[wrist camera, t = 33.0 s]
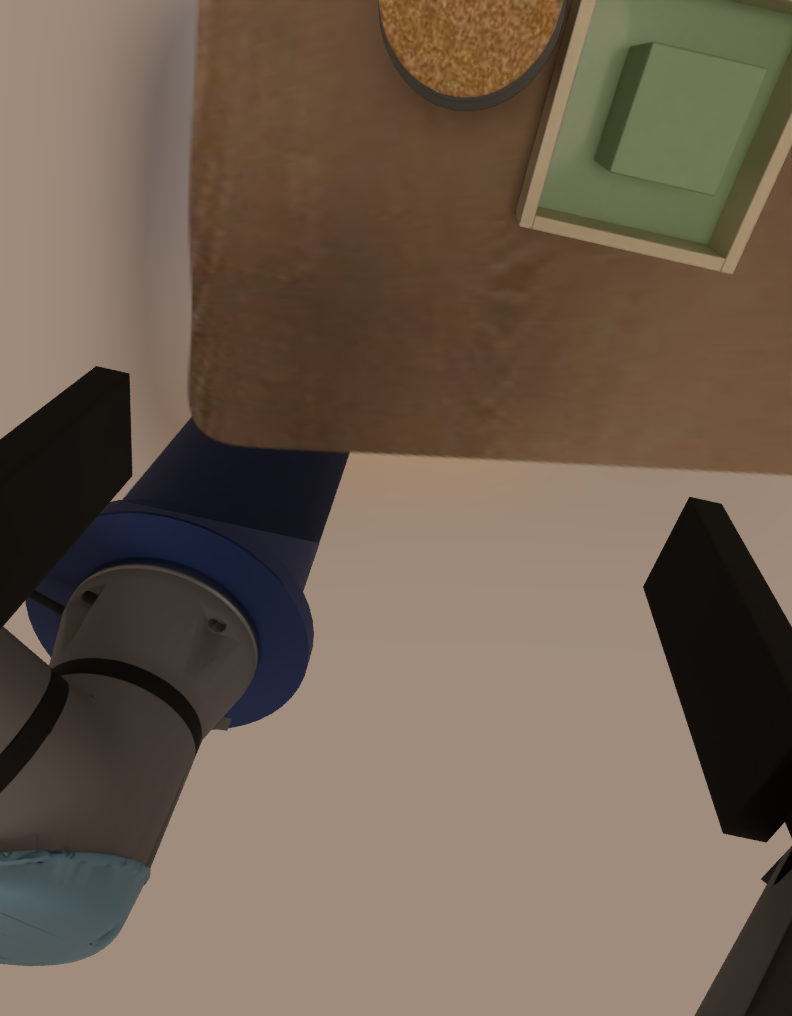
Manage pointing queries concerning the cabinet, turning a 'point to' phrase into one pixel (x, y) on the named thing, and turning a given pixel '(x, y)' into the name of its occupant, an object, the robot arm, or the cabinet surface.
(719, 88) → the sage block
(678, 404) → the cabinet surface
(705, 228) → the sorting tray
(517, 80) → the bottle
